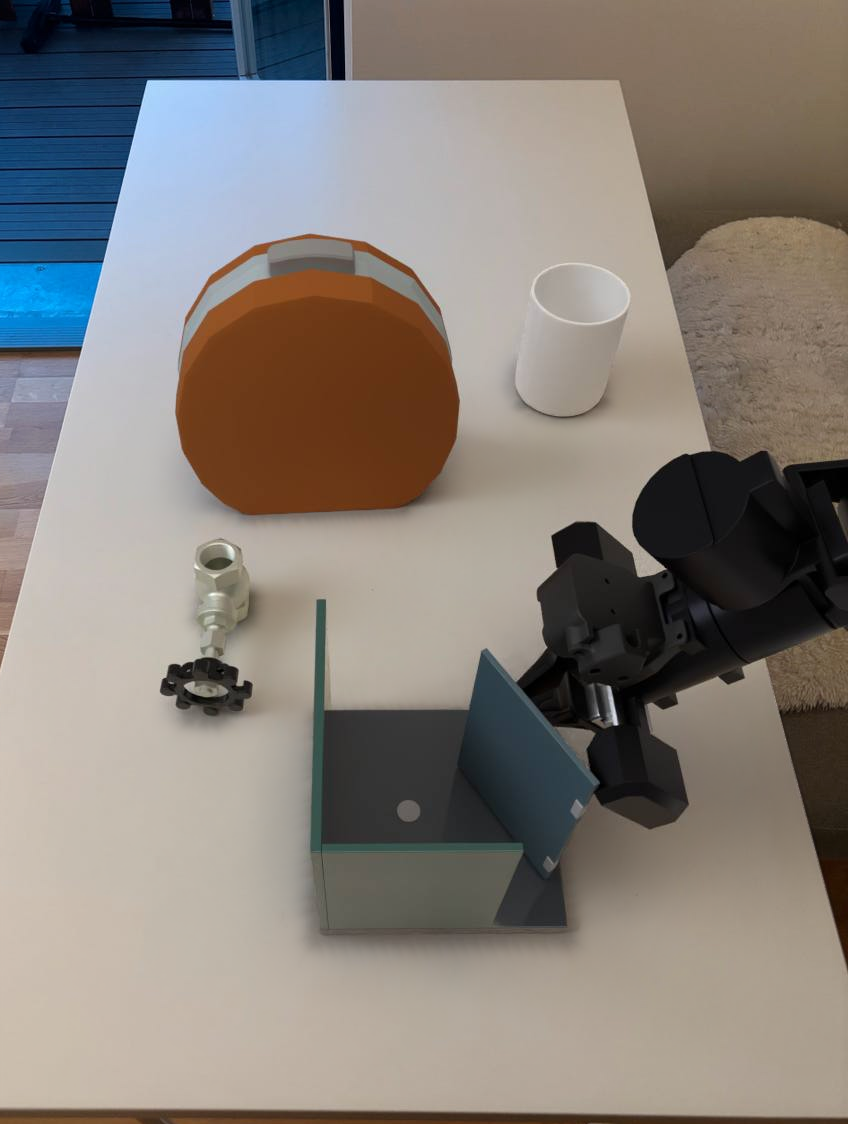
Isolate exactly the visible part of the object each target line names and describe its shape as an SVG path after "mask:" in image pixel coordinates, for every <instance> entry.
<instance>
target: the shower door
mask: <svg viewBox="0 0 848 1124" xmlns="http://www.w3.org/2000/svg"><path fill="white" fill-rule="evenodd" d="M516 682H517V681H515V679H513V677H512V676H511V675H510V674H509V672H508V671H507V670H506V669H505V668H504V667H503V666H502V664H501V663H500V662H499V661H498V660H497V658H496V657H495V656H494V655H493V654H492V653H491V651H490V650H489V649H488V647H486V648H484V649H482V650H480V655H479V660H478V663H477V669H476V674H475V679H474V683H473V687H472V692H471V697H470V703H469V706H468V710H469V711H468V715H467V720H466V725H465V730H464V734H463V739H462V744H461V748H460V753H459V758H458V762H457V765H458V766H459V767H460V769H461V770H462V771H463V773H464V774H465V775H466V777H467V778H468V779H469V781H470V782H471V783H472V785H473V786H474V787H475V789H476V790H477V791H478V792H479V794H480V795H481V796H482V798H483V799H484V800H485V802H486V803H487V804H488V806H489V807H490V808H491V810H492V811H493V812H494V814H495V815H496V816H497V817H498V819H499V820H500V821H501V823H502V824H503V825H504V827H505V828H506V829H507V831H508V832H509V833H510V835H511V836H512V837H513V838H514V840H515V841H516V842H517V843H523V849H524V851H523V852H524V853H525V854H526V856H527V857H528V858H529V860H530V861H531V862H532V863H533V865H534V866H535V867H536V869H537V870H538V871H539V873H540V874H541V875H542V877H543V878H544V879H545V880H546V879H547V878H549V877H550V875H551V873H552V871H553V869H554V868H555V867H556V865H557V863H558V861H559V862H560V858H561V856H562V855H563V852H564V851H565V849H566V847H567V845H568V843H569V842H570V839H571V838H572V836H573V834H574V832H575V831H576V828H577V827H578V825H579V824H580V822H581V819H582V818H583V815H584V814H585V813H586V811H587V809H588V807H589V805H590V803H591V801H592V799H593V797H594V796H595V794H594V793H593V792H594V791H595V790H596V789H597V788H598V786H599V784H600V782H599V781H598V779H597V778H596V777H595V776H594V775H593V774H592V772H591V771H590V769H589V768H588V766H587V765H586V764H585V762H583V760H582V759H581V758H580V757H579V756H578V754H577V753H576V752H575V751H574V750H573V748H572V747H571V746H570V745H569V744H568V743H567V742H566V740H565V739H564V738H563V736H561V734H560V733H559V732H558V730H556V727H553V726H552V725H551V724H550V723H549V721H548V720H547V719H546V718H545V717H544V715H543V714H542V713H541V712H540V711H539V710H538V708H537V707H536V706H535V705H534V704H533V702H532V701H531V700H530V699H529V698H528V696H527V695H526V694H525V693H524V692H523V691H522V689H521V688H520V687H519V686H518V685H517V683H516Z"/></svg>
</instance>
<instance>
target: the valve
mask: <svg viewBox="0 0 848 1124" xmlns="http://www.w3.org/2000/svg"><path fill="white" fill-rule="evenodd" d="M193 570H194V574H195V579H194V585H195V591H196V594H197V596H198V598H199V600H201V601H200V602H202V603H201V604H199V605H200V606H199V607H198V612H197V616H196V617H197V618H196V622H197V624H198V625H199V626H200V627H201V628H203V630H204V632H202V635H201V640H200V645H199V648H200V653H201V655H203V657H201V658H196V659H194V661H187V662H185V663H183V664H179V663H170V664H168V666H167V670H166V676H165V677H163V678H162V679H161V680H160V687H159V694H161V695H162V696H164V697H174V696H176V699H175V707H176V708H177V709H179V710H181V711H182V710H183V711H187V710H189V709H190V708H191V707H192V706H195V707H201V708H203V709H202V712H203V714H204V715H206V716H209V717H211V716H212V717H215V716H217V715H219V710H220V708H223V707H226V708H227V709H228V710H229V711H231V712H234V713H235V712H236V713H239V712H242V711H243V710H244V708H245V707H244V705H245V700H249V699H251V698H252V696H253V688H254V684H253V683H252V681H249V680H243V683H242V685H238V680H239V675H240V670H239V668H238V667H237V666H233V665H229V664H228V663H225V662H222V661H221V660H220V659H219V658H220V657H223V656H225V651H226V646H227V638H226V634H228V632H231V631H233V630H235V628H236V627H237V623H239V622H241V621H243V620H245V619H246V618H248V613H249V607H250V594H249V593H250V589H251V578H250V575H249V572H248V570H247V569H246V566H245V565H244V558H243V551H242V548H240V547H239V546H238V545H237V544H234V543H233V542H231V541H229V540H227V539H224V538H221V537H219V538H216V539H213V540H209V541H207V542H204V543H202V544H200V545H198V546H197V547H196V551H195V555H194V562H193ZM193 682H194V686H193V687H194V692H195V693H193V692H191V691H190V690H188V689H187V688H186V687H185V685H187V684H189V683H193ZM220 686H221V687H222V688H224V689H226V690H227V693H226V694H223V695H220V696H217V695H219V688H220Z"/></svg>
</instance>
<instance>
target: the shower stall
mask: <svg viewBox="0 0 848 1124" xmlns="http://www.w3.org/2000/svg"><path fill="white" fill-rule="evenodd" d="M327 604H328V603H327V599H326V598H317V599H316V601H315V605H316V606H315V637H314V639H315V640H314V641H315V642H314V675H313V676H314V679H313V680H314V681H313V683H314V684H313V716H312V717H313V722H312V757H311V792H310V794H311V797H310V799H311V800H310V832H309V833H310V834H309V835H310V836H309V841H310V842H309V857H310V862H311V871H312V879H313V881H312V882H313V889H314V896H315V904H316V912H317V921H318V928H319V934H320V935H375V934H376V935H377V934H378V935H380V934H381V935H382V934H385V935H386V934H387V935H388V934H389V935H390V934H391V935H392V934H393V935H395V934H396V935H397V934H398V935H399V934H401V935H402V934H410V935H411V934H529V933H530V934H535V933H538V934H539V933H541V934H543V933H545V934H546V933H547V934H548V933H549V934H551V933H555V934H556V933H565V932H566V931H567V929H568V927H569V925H568V917H567V910H566V902H565V893H564V886H563V878H562V871H561V870H562V869H561V863H560V860H559V861H558V863H557V865H556V867H555V868H554V869H553V871H552V873H551V875H550V877H549V878H547V879H546V880H545V879H544V878H543V877H542V875H541V874H540V873H539V871H538V870H537V869H536V867H535V866H534V865H533V863H532V862H531V861H530V860H529V858H528V857H527V856H526V854H525V853H524V852H523V851H524V849H523V843H517V842H516V841H515V840H514V838H513V837H512V836H511V835H510V833H509V832H508V831H507V829H506V828H505V827H504V825H503V824H502V823H501V821H500V820H499V819H498V817H497V816H496V815H495V814H494V812H493V811H492V810H491V808H490V807H489V806H488V804H487V803H486V802H485V800H484V799H483V798H482V796H481V795H480V794H479V792H478V791H477V790H476V789H475V787H474V786H473V785H472V783H471V782H470V781H469V779H468V778H467V777H466V775H465V774H464V773H463V771H462V770H461V769H460V767H459V766H458V765H457V762H458V758H459V753H460V748H461V744H462V739H463V734H464V730H465V725H466V720H467V715H468V711H469V709H332V689H331V687H332V686H331V670H330V669H331V668H330V650H329V649H330V648H329V627H328V605H327Z"/></svg>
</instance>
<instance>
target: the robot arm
mask: <svg viewBox="0 0 848 1124" xmlns="http://www.w3.org/2000/svg"><path fill="white" fill-rule="evenodd" d="M834 503H835V504H838V505H837V506H836V508H835V505H834ZM836 510H837V511H836ZM631 529H632V533H633V537H634V538H635V540H636V542H637V544H638V545H639V547H641V548H642V549H643V550H644V551H645V552H646V553H647V554H648V555H649V556H650V557H652V558H653V559H654V560H655V561H657V562H658V563H659V564H660V565H661V566H663V567H664V568H665V569H662V570H661V571H659V572H657V573H654V574H651V575H644V576H639V575H638V571H637V566H636V562H635V558H634V553H633V552H632V551H631V550H630V549H628V548H627V547H626V546H625V545H624V544H623V543H622V542H620V541H619V540H618V539H617V538H615V537H614V536H613V535H612V534H611V533H609V532H608V531H607V530H606V529H605V528H604V527H602V526H601V525H600V524H599V523H598V522H596V521H590V520H580V521H579V520H576V521H574V522H572V523H570V524H568V525H567V526H565V527H563V528H561V529H560V530H557V531H556V532H554V533H553V534H551V535H550V537H551V538H550V539H551V544H552V550H553V551H552V552H553V557H554V563H555V568H556V569H555V571H553V572H552V574H550V575H549V576H548V577H547V578H546V579H544V581H543V582H541V584H540V585H539V586H538V587H537V589H536V601H537V602H539V605H540V611H541V618H542V624H543V625H542V630H541V634H542V635H541V636H542V640H543V643H544V644H545V646H546V648H545V649H544V651H543V652H542V653H541V654H540V655H539V657H538V659H536V661H535V662H534V663H533V664H532V665H531V666H530V667H529V668H528V669H527V670H526V671H525V672H524V673H523V674H522V675H521V676H520V677H519V679H517V681H515V682H516V683H517V685H518V686H519V687H520V688H521V689H522V691H523V692H524V693H525V694H526V695H527V696H528V698H529V699H530V700H531V701H532V702H533V704H534V705H535V706H536V707H537V708H538V710H539V711H540V712H541V713H542V714H543V715H544V717H545V718H546V719H547V720H548V721H549V723H550V724H551V725H552V726H553V727H554V728H563V729H565V728H566V729H577V730H584V731H590V732H592V733H593V734H594V735H593V736H592V738H591V740H590V742H589V744H588V745H587V747H586V749H585V750H586V756H587V761H588V767H589V768H588V769H589V770H590V771H591V772H592V774H593V775H594V776H595V777H596V778H597V779H598V781H599V782H600V784H599V786H598V788H597V789H596V790H595V791H594V792H593V793H594V796H595V798H596V800H597V801H598V804H599V805H600V806H601V807H603V808H605V809H607V810H609V811H611V812H613V813H615V814H617V815H619V816H621V817H623V818H625V819H627V820H629V821H631V822H632V823H633V822H634V823H635V824H637V825H639V826H640V827H641V826H642V827H643V828H645V829H647V830H650V831H651V830H653V829H657V828H661V827H663V826H666V825H670V824H673V823H676V822H677V820H678V819H680V817H681V816H682V815H683V813H684V812H685V811H686V810H687V809H688V807H689V806H690V804H689V799H688V798H689V797H688V794H687V790H686V785H685V780H684V776H683V771H682V767H681V763H680V758H679V753H678V750H677V749H676V748H675V747H673V746H671V745H670V744H668V743H666V742H665V741H663V740H662V739H660V738H659V737H658V736H655V735H654V734H652V733H653V732H654V731H653V725H652V720H651V716H650V711H649V704H653V705H655V706H656V707H658V708H659V709H661V710H662V711H664V710H667V709H670V708H672V707H675V706H678V705H679V700H678V697H677V693H679V692H682V691H685V690H687V689H690V688H692V687H695V686H697V685H701V684H702V683H706V682H707V681H710V680H713V679H715V678H718V679H720V680H721V681H722V682H724V683H725V684H726V685H728V686H730V685H731V684H734V683H738V682H739V681H742V680H745V679H746V676H745V673H744V670H743V667H746V666H748V665H751V664H753V663H755V662H758V661H761V660H763V659H765V658H768V657H770V656H773V655H776V654H779V653H781V652H783V651H786V650H788V649H791V648H794V647H796V646H799V645H801V644H804V643H806V642H808V641H811V640H814V639H816V638H818V637H821V636H824V635H826V634H829V633H831V632H833V631H834V632H835V631H836V630H838V629H841V628H843V629H844V630H845V631H846V632H847V633H848V458H845V459H843V458H842V459H834V460H833V459H832V460H824V461H813V462H803V463H793V464H788V465H786V466H784V467H783V469H782V470H781V469H780V466H779V464H778V462H777V461H776V459H775V458H774V456H772V455H771V454H770V452H769V451H768V450H759V451H757V452H755V453H753V454H751V455H749V456H748V457H745V458H744V459H741V460H738V459H737V458H736V457H735V456H732V455H731V454H729V453H727V452H722V451H716V450H704V451H698V452H695V453H691V454H689V453H683V454H681V455H678V456H677V457H675V458H672V459H671V460H670V461H669V462H667V463H665V464H664V465H663V466H661V467H660V468H659V469H658V470H657V471H656V472H654V474H653V475H652V476H651V477H650V478H649V479H648V480H647V482H646V483H645V485H644V486H643V488H641V491H640V492H639V494H638V496H637V498H636V500H635V503H634V506H633V510H632V515H631Z"/></svg>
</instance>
